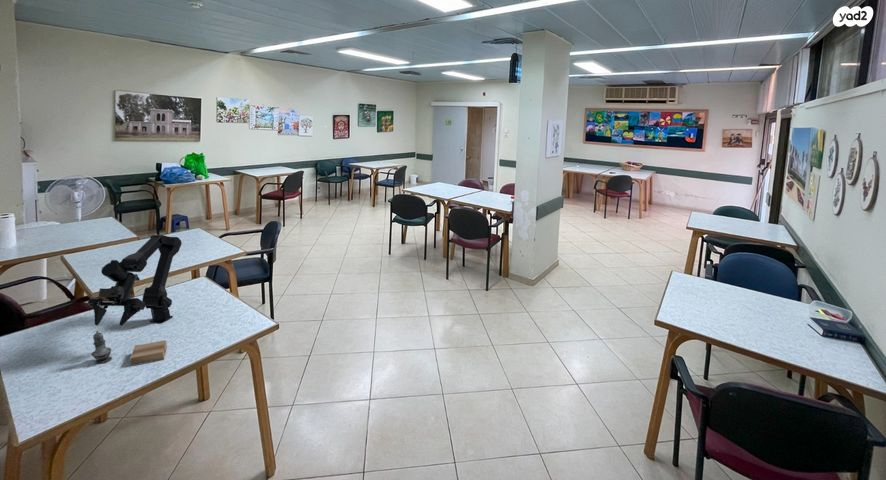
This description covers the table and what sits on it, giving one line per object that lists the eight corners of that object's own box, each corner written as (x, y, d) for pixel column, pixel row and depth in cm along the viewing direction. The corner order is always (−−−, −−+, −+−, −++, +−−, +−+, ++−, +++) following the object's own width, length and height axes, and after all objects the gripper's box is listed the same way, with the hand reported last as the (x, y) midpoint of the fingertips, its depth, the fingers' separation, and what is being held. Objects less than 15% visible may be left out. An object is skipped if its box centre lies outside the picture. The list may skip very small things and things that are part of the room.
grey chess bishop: (91, 366, 159) (84, 336, 156) (95, 358, 164) (88, 329, 161) (111, 362, 162) (105, 332, 159) (114, 354, 167) (108, 326, 164)
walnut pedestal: (136, 352, 169) (135, 345, 168) (166, 347, 173) (165, 340, 172) (131, 365, 160) (130, 358, 159) (163, 359, 164) (162, 352, 163)
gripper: (85, 277, 166) (67, 317, 158) (135, 278, 166) (119, 318, 158) (105, 289, 176) (89, 327, 168) (151, 290, 176) (138, 328, 168)
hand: (108, 325), depth 165 cm, fingers open, 9 cm apart
